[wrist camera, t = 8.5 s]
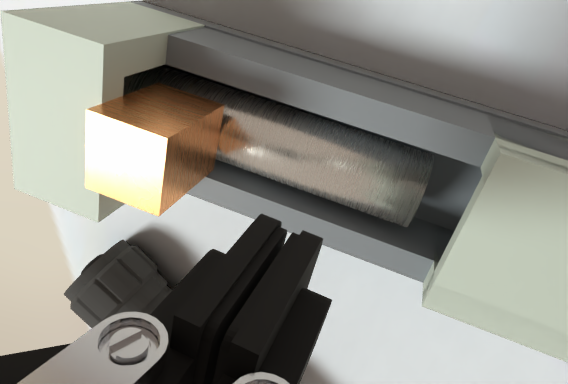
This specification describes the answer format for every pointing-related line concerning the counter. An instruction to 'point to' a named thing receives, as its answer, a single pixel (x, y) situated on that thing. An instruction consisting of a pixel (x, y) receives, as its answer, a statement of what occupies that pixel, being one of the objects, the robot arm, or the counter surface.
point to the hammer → (239, 148)
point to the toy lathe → (300, 204)
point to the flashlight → (117, 285)
